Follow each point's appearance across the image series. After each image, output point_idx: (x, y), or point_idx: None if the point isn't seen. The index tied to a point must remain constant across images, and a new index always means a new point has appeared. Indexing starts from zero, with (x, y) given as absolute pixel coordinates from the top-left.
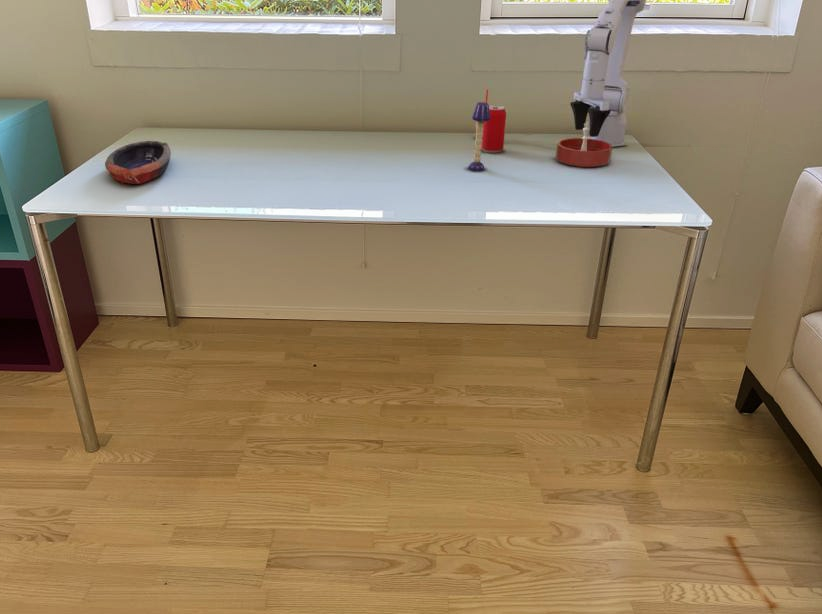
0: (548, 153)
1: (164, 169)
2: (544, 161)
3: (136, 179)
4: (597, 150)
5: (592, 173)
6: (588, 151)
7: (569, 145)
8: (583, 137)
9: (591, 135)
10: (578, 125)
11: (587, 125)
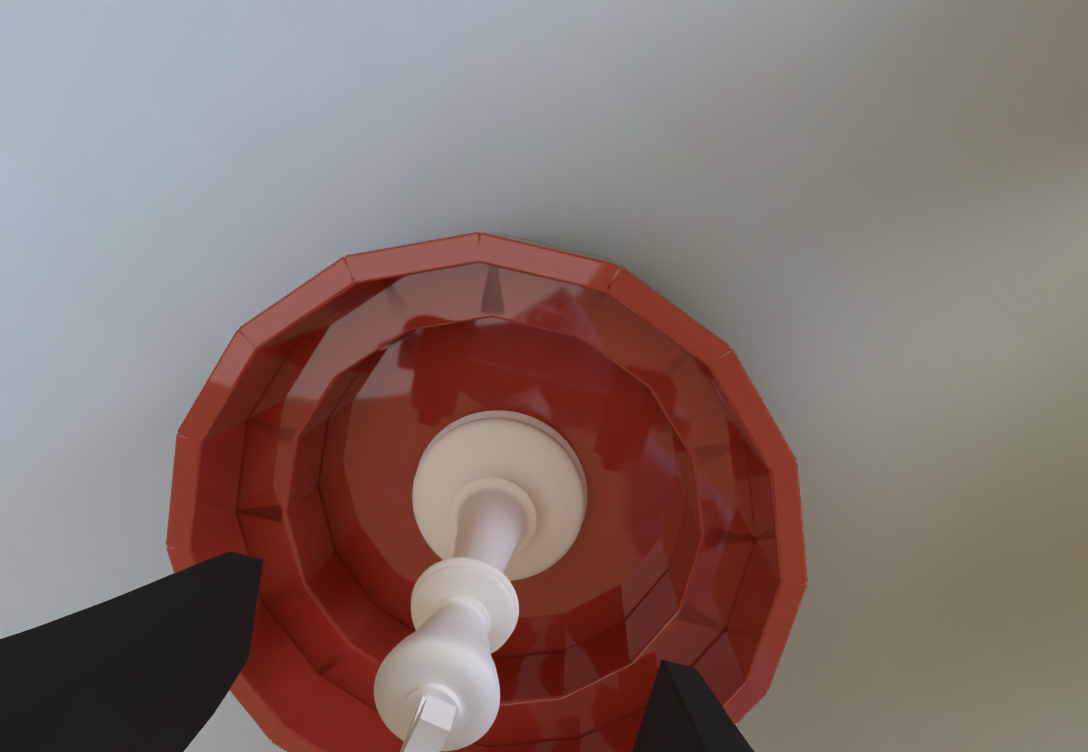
0: (887, 400)
1: None
2: (688, 160)
3: None
4: (503, 694)
5: (160, 295)
6: (206, 384)
7: (749, 562)
8: (456, 577)
9: (210, 562)
10: (664, 732)
11: (405, 738)
